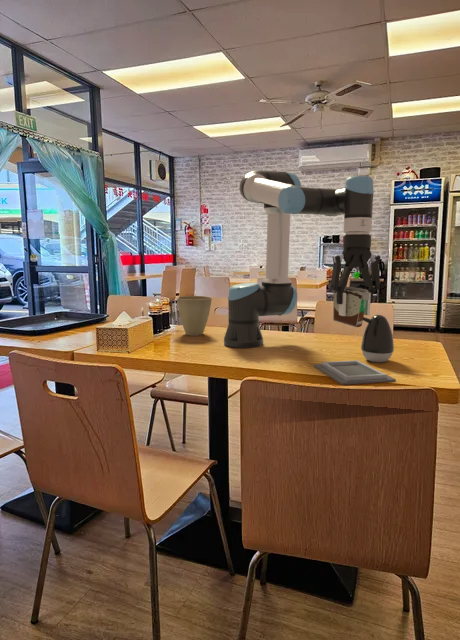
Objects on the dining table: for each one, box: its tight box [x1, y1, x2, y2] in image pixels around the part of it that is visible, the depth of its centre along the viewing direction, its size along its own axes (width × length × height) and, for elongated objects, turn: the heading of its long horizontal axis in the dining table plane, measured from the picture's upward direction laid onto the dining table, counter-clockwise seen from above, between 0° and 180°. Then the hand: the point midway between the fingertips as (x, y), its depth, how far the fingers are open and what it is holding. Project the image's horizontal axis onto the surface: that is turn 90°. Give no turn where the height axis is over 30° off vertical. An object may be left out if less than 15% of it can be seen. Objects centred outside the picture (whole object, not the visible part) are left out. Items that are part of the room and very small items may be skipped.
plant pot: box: [176, 295, 212, 337], centre depth 192 cm, size 15×15×16 cm
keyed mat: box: [313, 359, 397, 386], centre depth 131 cm, size 20×16×2 cm
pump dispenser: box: [360, 314, 395, 363], centre depth 145 cm, size 10×10×15 cm
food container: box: [331, 286, 370, 328], centre depth 129 cm, size 12×6×10 cm, turn 30°
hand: (354, 314), depth 128 cm, fingers closed on food container, 7 cm apart
